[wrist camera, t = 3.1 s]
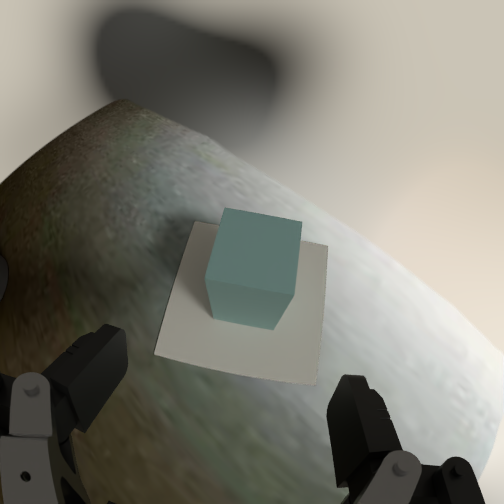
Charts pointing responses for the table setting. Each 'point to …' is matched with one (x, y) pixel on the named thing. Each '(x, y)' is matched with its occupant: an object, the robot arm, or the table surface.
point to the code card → (242, 336)
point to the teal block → (253, 268)
